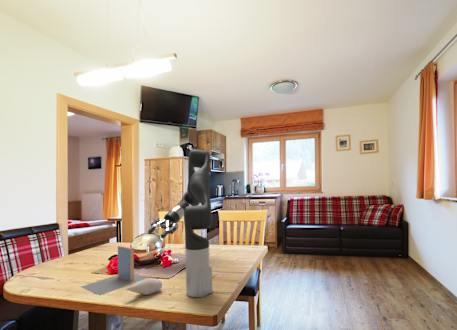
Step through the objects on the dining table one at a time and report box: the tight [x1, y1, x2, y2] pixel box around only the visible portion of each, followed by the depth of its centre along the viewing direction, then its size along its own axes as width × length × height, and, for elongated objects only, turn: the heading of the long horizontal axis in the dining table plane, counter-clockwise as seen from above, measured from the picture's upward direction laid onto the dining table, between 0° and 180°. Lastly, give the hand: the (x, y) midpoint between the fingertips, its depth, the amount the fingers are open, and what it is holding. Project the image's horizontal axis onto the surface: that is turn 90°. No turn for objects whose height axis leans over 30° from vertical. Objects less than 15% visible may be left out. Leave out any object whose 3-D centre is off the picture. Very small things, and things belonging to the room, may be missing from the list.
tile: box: [117, 244, 135, 281], centre depth 120 cm, size 10×2×14 cm, turn 53°
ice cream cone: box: [124, 277, 163, 296], centre depth 102 cm, size 6×6×15 cm
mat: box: [80, 273, 148, 296], centre depth 116 cm, size 16×22×1 cm
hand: (155, 235), depth 134 cm, fingers open, 8 cm apart
